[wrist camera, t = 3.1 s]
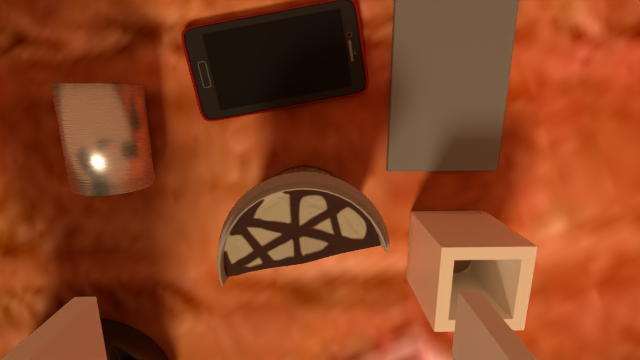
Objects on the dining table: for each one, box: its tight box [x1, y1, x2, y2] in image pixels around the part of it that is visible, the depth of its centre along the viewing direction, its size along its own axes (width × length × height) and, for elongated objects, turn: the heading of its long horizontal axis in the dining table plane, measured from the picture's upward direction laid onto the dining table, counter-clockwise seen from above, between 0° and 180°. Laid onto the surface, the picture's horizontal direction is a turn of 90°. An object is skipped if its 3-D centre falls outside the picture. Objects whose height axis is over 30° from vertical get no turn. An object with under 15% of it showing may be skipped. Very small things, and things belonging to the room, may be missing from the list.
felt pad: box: [386, 0, 519, 171], centre depth 30 cm, size 10×15×1 cm, turn 0°
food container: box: [217, 166, 389, 286], centre depth 27 cm, size 12×6×10 cm, turn 102°
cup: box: [406, 210, 538, 332], centre depth 30 cm, size 7×7×8 cm
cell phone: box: [182, 0, 368, 121], centre depth 29 cm, size 8×15×1 cm, turn 100°
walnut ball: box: [453, 260, 471, 273], centre depth 31 cm, size 3×3×3 cm
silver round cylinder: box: [50, 83, 155, 196], centre depth 27 cm, size 8×6×6 cm
